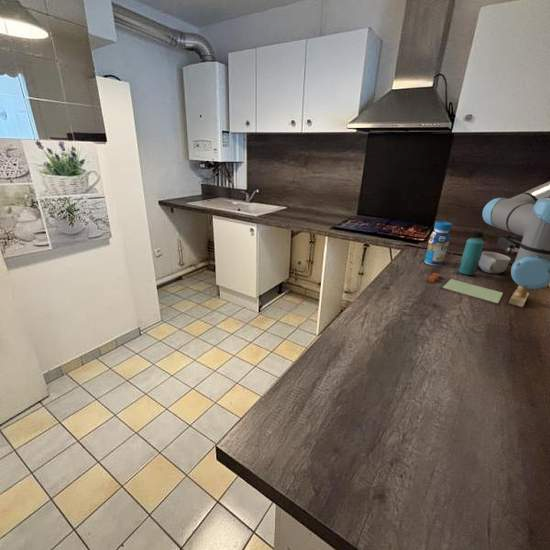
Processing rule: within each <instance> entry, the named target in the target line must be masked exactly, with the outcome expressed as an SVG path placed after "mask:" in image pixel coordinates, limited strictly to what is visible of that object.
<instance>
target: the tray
mask: <svg viewBox="0 0 550 550" xmlns="http://www.w3.org/2000/svg"><path fill="white" fill-rule="evenodd" d="M442 288H443V289H447V290H449V291H452V292H457V293H460V294H463V295H468V296H470V297H473V298H478V299H481V300H485V301H488V302H492V303H495V304H499V303H500V300H501V298H502V296H503V294H504V292H501V291H497V290H494V289H491V288H486V287H483V286H479V285H475V284H471V283H467V282H464V281H460V280H456V279H453V278H450V279H449V280H448V281H447V282H446V283H445V284H444V285H443V286H442Z"/></svg>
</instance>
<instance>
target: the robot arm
mask: <svg viewBox="0 0 550 550" xmlns="http://www.w3.org/2000/svg"><path fill="white" fill-rule="evenodd" d="M481 213H482V219H483V221H484V222H485V224H487V225H489V226H491V227H494V228H496V229H499V230H502V231H506V232H509V233H512V234H513V235H509V234H507V235H506V238H505V237H503V236H499V237H498V239H497V242H496V246H497V247H498V248H500V249H502V250H503V251H505V254H507V255H508V254H509V255H511V254H514V253H517V254H516V256H515V259H514V262H513V263H512V265H511V268H510V275H511V279H512V280H513V282H514V283H515V284H516V285H520V286H522V287H524V288H529V290H537V289H538V290H539V289H542V288H545V287H547V286H548V285H550V180H549V181H547V182H545V183H543V184H540V185H538V186H536V187H533V188H531V189H529V190H526V191H525V192H521V193H520V194H517V195H515V196H513V197H509V198H507V197H497V198H493V199H491V200H490V201H489V202H487V203H486V205H485V206H484V207H483V209H482V212H481ZM518 236H520V237H522V238H521V239H522V240H521V241H519V240H517V237H518Z"/></svg>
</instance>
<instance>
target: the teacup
mask: <svg viewBox="0 0 550 550" xmlns="http://www.w3.org/2000/svg"><path fill="white" fill-rule="evenodd" d="M511 260H512V259H511V257H510V256H508V255H505V254H502V253H499V252H494V251H481V255H480V259H479V262H478V267H479V268H480V269H481V270H482V271H483V272H486V273H488V274H495V275H496V274H501V273H503V272H505V271H506V270H507V268H508V266H509V263H510V261H511Z"/></svg>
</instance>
